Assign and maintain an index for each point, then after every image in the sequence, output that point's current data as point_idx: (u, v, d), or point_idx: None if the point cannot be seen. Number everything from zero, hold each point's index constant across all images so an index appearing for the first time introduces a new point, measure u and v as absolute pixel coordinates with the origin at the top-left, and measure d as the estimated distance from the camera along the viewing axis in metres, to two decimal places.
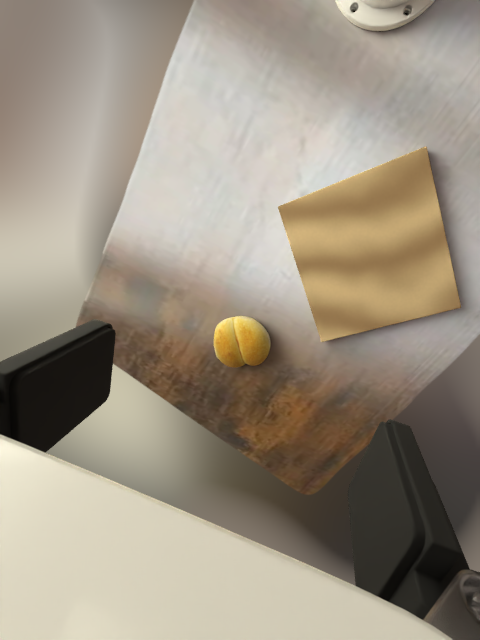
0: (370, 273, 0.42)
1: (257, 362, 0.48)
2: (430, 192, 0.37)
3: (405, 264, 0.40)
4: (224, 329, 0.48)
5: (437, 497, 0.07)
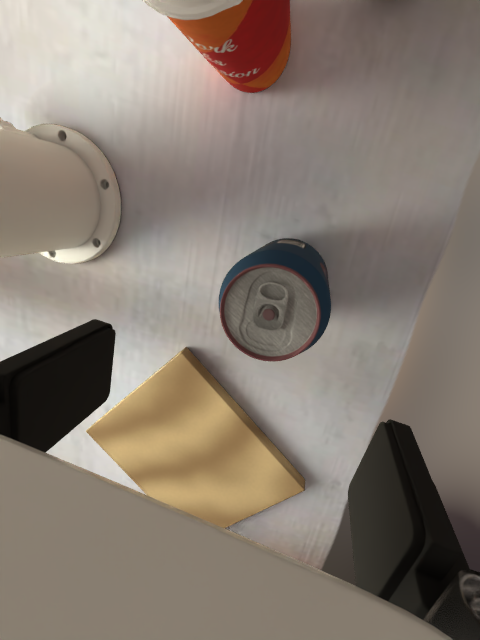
0: (199, 474, 0.37)
1: None
2: (210, 391, 0.33)
3: (226, 460, 0.35)
4: None
5: (437, 497, 0.07)
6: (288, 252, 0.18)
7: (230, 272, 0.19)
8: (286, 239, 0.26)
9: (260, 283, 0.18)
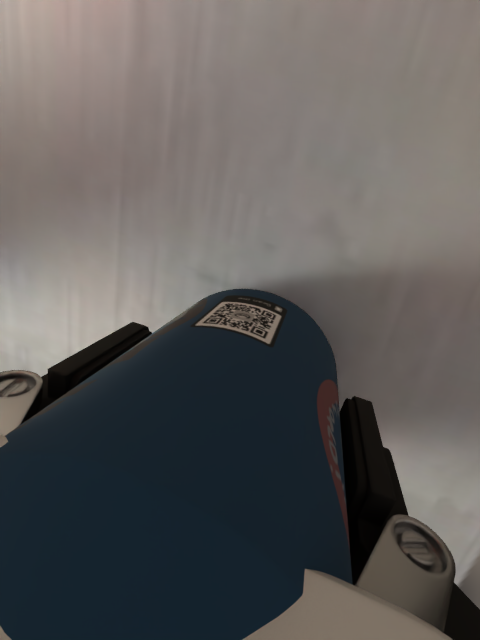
0: None
1: None
2: None
3: None
4: None
5: (384, 457, 0.08)
6: (140, 484, 0.03)
7: None
8: (240, 296, 0.11)
9: None
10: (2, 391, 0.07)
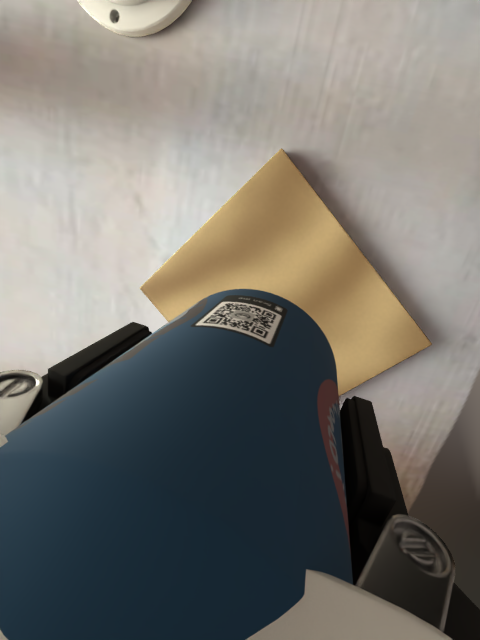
0: None
1: None
2: (316, 205, 0.25)
3: (326, 310, 0.27)
4: None
5: (384, 457, 0.08)
6: (141, 484, 0.03)
7: None
8: (240, 295, 0.11)
9: None
10: (2, 391, 0.07)
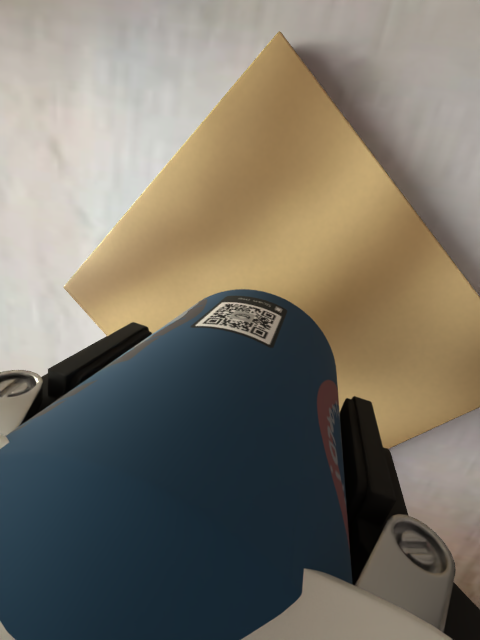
0: None
1: None
2: (341, 136, 0.14)
3: (356, 320, 0.16)
4: None
5: (384, 457, 0.07)
6: (140, 486, 0.03)
7: None
8: (239, 296, 0.11)
9: None
10: (2, 391, 0.07)
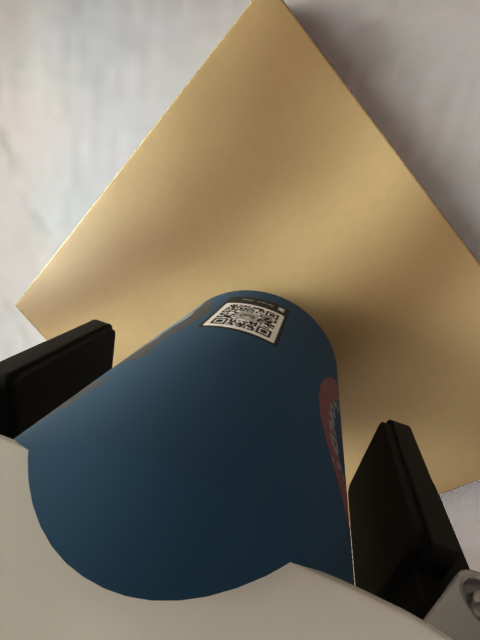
0: None
1: None
2: (349, 120, 0.11)
3: (366, 353, 0.13)
4: None
5: (437, 497, 0.07)
6: (162, 467, 0.04)
7: None
8: (244, 297, 0.11)
9: None
10: None
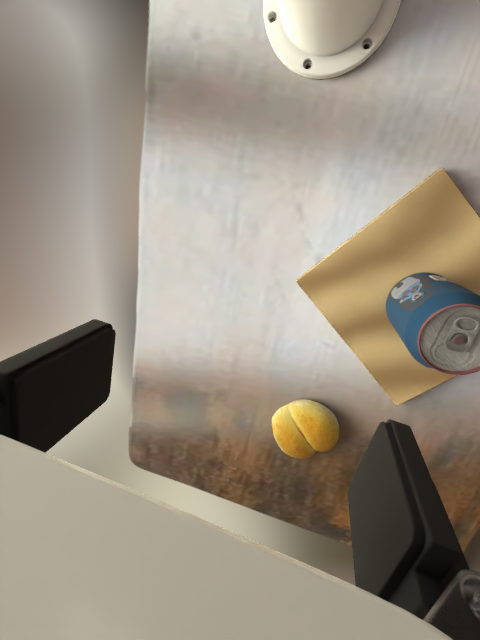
0: None
1: (331, 447, 0.42)
2: (467, 212, 0.31)
3: None
4: (281, 422, 0.42)
5: (437, 497, 0.07)
6: (473, 294, 0.24)
7: (422, 307, 0.25)
8: (430, 274, 0.32)
9: (455, 317, 0.24)
10: None
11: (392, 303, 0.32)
